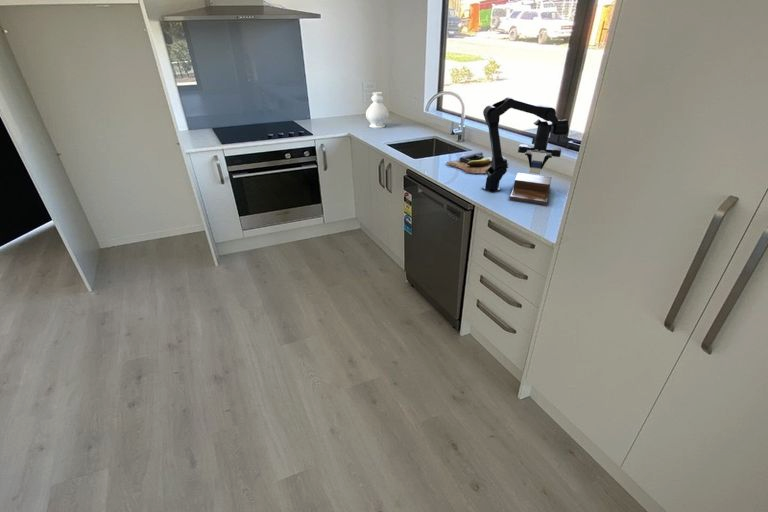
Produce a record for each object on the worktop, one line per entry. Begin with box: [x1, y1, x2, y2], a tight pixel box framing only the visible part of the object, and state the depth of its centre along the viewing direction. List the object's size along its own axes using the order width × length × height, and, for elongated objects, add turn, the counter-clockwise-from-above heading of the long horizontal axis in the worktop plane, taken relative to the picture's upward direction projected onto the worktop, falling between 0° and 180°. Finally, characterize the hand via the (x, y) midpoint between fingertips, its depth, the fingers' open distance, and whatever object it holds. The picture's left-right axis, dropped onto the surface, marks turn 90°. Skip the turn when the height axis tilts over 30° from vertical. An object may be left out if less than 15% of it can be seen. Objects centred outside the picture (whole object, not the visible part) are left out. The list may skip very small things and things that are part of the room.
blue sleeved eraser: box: [528, 159, 543, 175], centre depth 188 cm, size 9×5×4 cm, turn 157°
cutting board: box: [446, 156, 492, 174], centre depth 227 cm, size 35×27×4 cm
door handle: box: [458, 151, 492, 163], centre depth 233 cm, size 3×20×16 cm
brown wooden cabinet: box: [509, 172, 552, 207], centre depth 188 cm, size 24×16×6 cm, turn 157°
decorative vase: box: [365, 91, 390, 129], centre depth 309 cm, size 18×18×25 cm
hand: (535, 168), depth 189 cm, fingers closed on blue sleeved eraser, 4 cm apart
